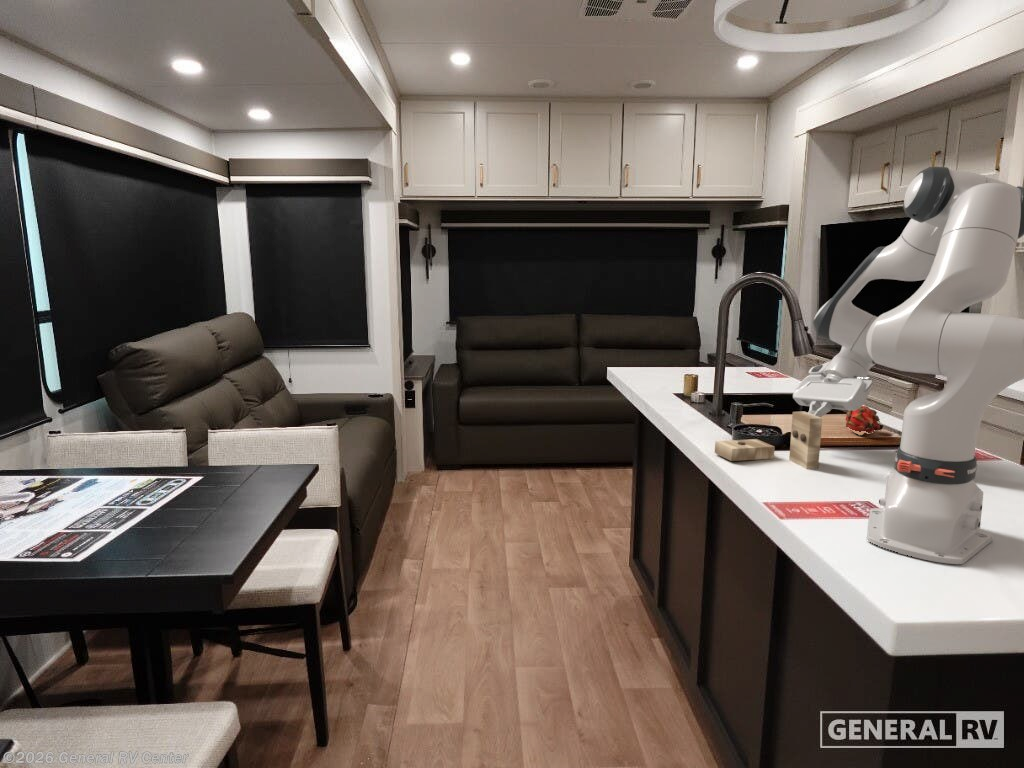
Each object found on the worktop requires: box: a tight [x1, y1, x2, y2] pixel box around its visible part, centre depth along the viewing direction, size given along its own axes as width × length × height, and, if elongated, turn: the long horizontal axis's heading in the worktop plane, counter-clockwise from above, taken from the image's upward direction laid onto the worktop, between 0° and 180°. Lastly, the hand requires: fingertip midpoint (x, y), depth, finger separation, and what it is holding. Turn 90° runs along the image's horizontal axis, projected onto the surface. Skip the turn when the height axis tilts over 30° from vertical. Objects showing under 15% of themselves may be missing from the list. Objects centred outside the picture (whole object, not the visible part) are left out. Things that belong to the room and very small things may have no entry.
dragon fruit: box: [845, 405, 884, 434], centre depth 178 cm, size 8×8×12 cm
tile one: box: [714, 438, 776, 462], centre depth 159 cm, size 4×7×12 cm
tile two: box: [789, 411, 823, 470], centre depth 152 cm, size 4×7×12 cm, turn 9°
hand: (811, 418), depth 160 cm, fingers closed
